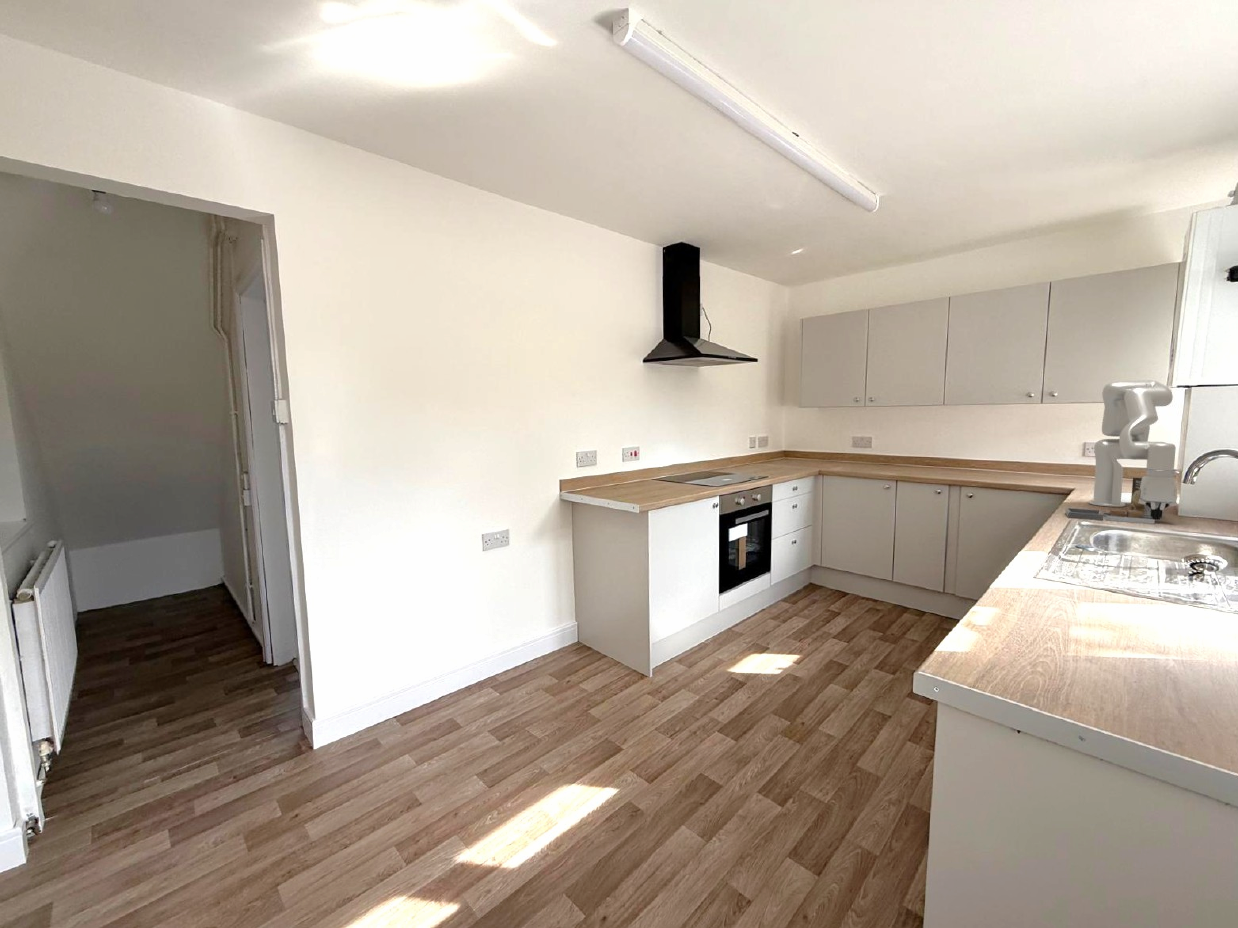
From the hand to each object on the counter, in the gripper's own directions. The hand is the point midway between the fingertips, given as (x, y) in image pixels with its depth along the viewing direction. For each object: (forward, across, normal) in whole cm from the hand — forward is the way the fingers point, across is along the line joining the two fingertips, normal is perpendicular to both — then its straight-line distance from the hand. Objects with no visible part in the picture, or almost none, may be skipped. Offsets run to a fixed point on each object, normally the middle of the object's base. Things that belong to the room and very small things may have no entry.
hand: (1155, 518), depth 203 cm
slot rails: (+1, +8, 0) cm, 8 cm away
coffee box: (+2, 0, -15) cm, 15 cm away
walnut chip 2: (+1, +6, 0) cm, 6 cm away
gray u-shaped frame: (+1, +21, 0) cm, 21 cm away
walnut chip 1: (+1, +11, 0) cm, 11 cm away
